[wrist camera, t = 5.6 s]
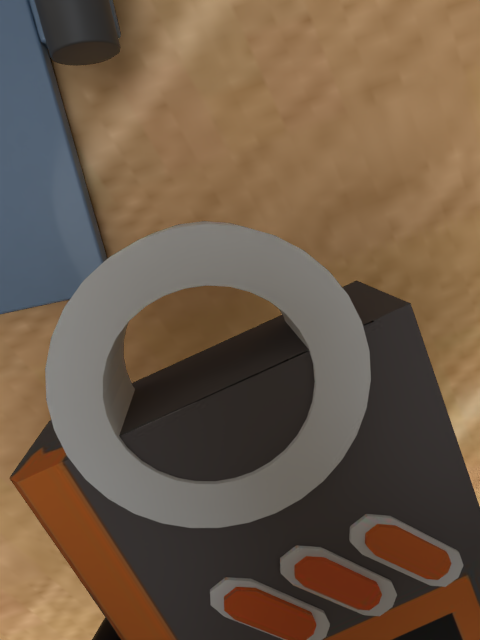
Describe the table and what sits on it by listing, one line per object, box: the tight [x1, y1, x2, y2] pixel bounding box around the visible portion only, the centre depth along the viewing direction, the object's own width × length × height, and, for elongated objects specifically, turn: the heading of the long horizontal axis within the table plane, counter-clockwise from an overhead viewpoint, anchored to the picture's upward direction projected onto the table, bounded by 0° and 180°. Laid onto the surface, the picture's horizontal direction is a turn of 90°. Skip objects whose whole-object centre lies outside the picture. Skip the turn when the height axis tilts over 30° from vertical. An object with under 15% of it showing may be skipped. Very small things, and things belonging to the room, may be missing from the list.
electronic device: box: [10, 221, 480, 640], centre depth 9 cm, size 7×3×15 cm
